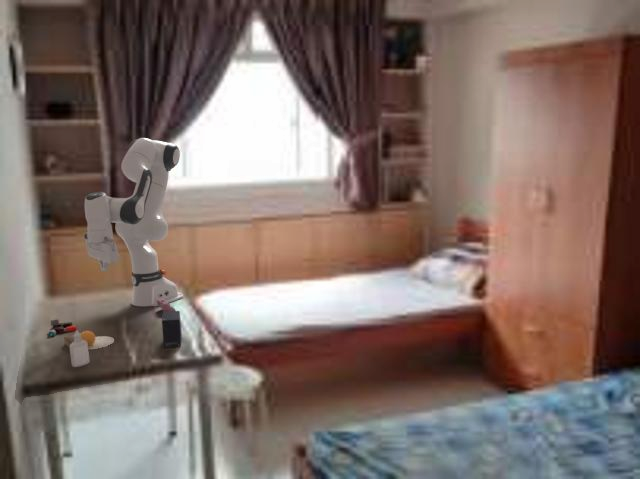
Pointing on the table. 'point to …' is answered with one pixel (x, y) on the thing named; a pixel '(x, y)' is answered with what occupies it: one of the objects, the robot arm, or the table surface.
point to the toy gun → (60, 327)
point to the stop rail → (68, 340)
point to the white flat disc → (101, 342)
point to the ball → (88, 337)
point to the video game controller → (164, 305)
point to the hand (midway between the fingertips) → (105, 270)
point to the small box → (171, 329)
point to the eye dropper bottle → (79, 351)
